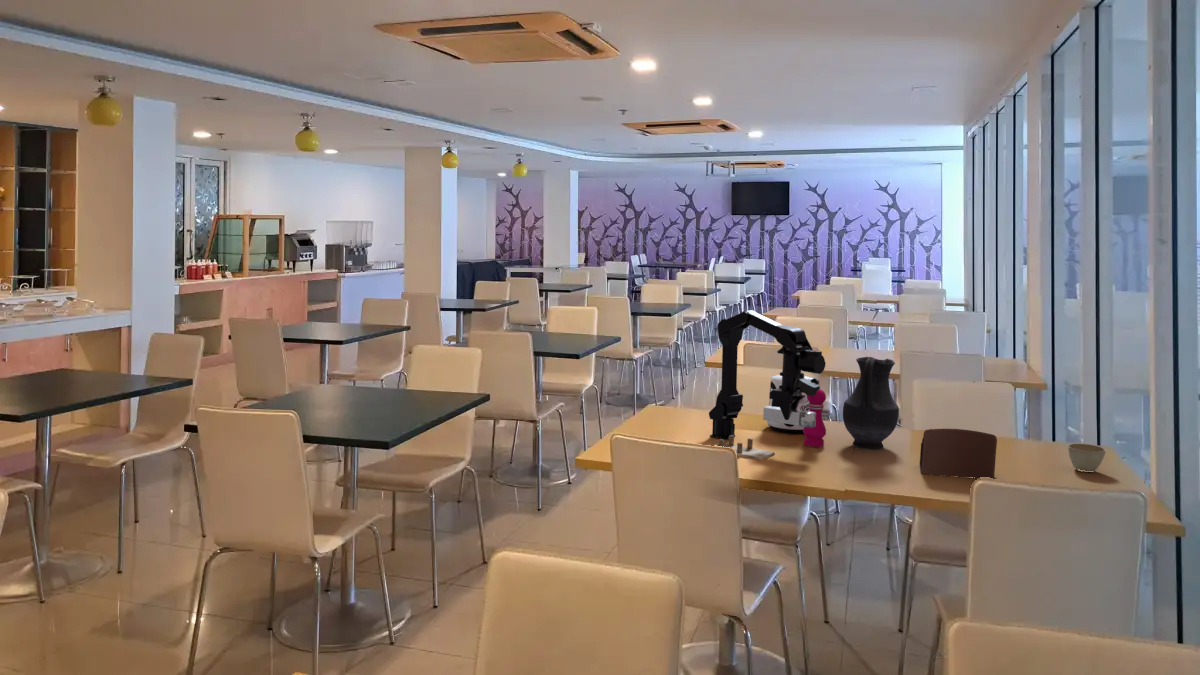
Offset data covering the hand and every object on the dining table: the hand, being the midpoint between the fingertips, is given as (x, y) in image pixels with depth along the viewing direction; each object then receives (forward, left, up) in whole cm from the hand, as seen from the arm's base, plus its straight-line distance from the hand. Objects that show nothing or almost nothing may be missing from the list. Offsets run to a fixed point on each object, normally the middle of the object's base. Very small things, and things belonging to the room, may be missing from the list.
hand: (789, 418), depth 290 cm
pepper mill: (+2, +16, -11) cm, 20 cm away
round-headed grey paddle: (0, 0, -1) cm, 1 cm away
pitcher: (+17, +24, -11) cm, 32 cm away
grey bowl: (+78, +39, -11) cm, 88 cm away
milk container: (-13, +32, -11) cm, 36 cm away
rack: (-12, -9, -11) cm, 18 cm away
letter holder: (+48, +11, -11) cm, 51 cm away
